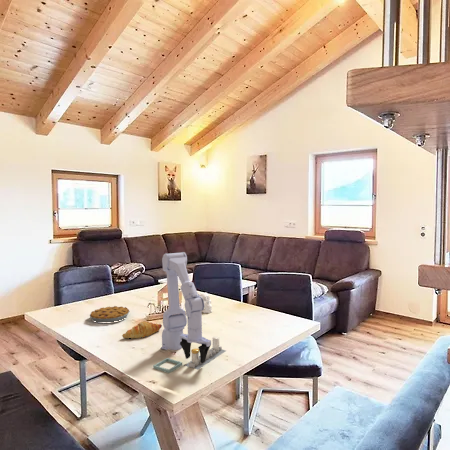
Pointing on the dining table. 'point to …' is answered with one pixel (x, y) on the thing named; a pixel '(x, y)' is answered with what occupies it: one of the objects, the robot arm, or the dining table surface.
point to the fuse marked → (195, 356)
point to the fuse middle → (208, 354)
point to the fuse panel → (212, 356)
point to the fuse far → (216, 344)
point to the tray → (165, 368)
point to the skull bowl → (206, 303)
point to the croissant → (142, 330)
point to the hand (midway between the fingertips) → (195, 359)
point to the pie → (109, 314)
